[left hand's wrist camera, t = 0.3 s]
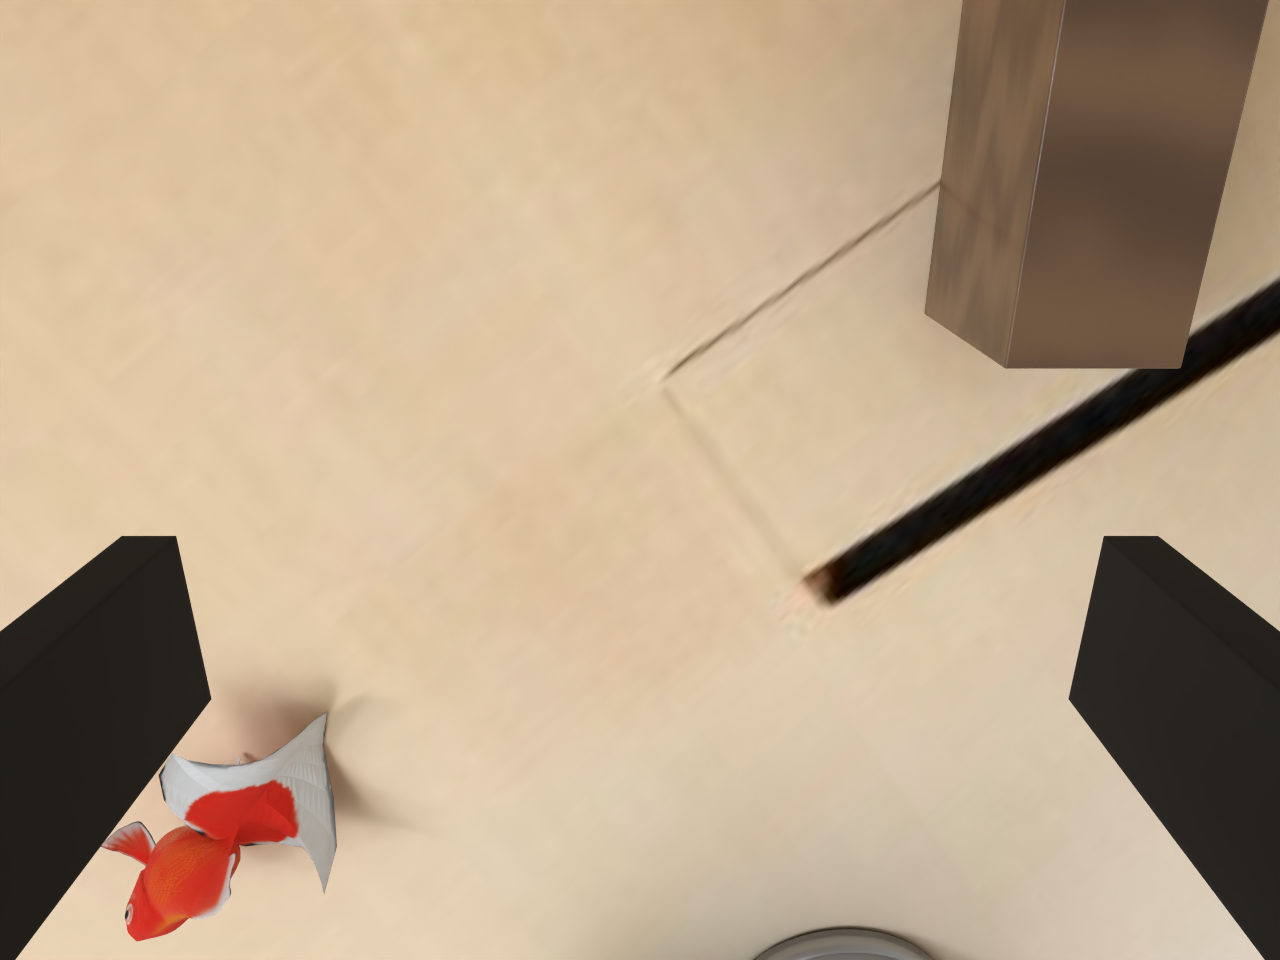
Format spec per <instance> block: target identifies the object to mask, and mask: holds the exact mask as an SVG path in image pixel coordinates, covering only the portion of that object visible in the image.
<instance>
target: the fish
mask: <svg viewBox="0 0 1280 960" xmlns="http://www.w3.org/2000/svg"><path fill="white" fill-rule="evenodd" d="M326 718H327V712H325V713H324V714H322V715H321V716H319V717H317V718H316V719H315V720H314V721H312V722H311V723H310V724H309V725H308V726H307V727H306V728H305V729H304V730H303V731H302V732H301V733H299V734H298V735H297V736H296V737H295V738H294V739H292V740H291V741H290V742H288V743H287V744H285V745H284V746H283V747H281V748H280V749H278V750H277V751H275V752H274V753H272V754H271V755H269V756H268V757H266V758H265V759H263V760H261V761H256V762H251V763H246V764H242V765H239V763H240V759H241V756H239V758H238V761H237V763H236V765H213V764H207V763H200V762H194V761H188V760H186V759H184V758H181V757H179V756H177V755H175V754H171V756H170V757H169V759H168V761H167V762H166V764H165V766H164V767H163V769H162V771H161V772H160V774H159V778H160V783H161V788H162V793H163V797H164V801H165V802H166V803H167V805H168V806H169V807H170V809H171V810H172V812H173V813H174V814H176V815H177V816H178V817H179V818H180V819H181V820H182V821H183V822H185V823H186V824H185V826H182V827H179V828H176V829H174V830H172V831H171V832H169V833H167V834H166V835H165V836H163V837H162V838H161V839H160V841H159V842H158V843H157V844H155V842H154V840H153V838H152V836H151V834H150V833H149V831H148V830H147V828H146V827H145V826H144V825H143V824H142V823H141V822H138V821H137V822H134V823H131V824H129V825H127V826H125V827H123V828H121V829H118V830H117V831H116V832H115V833H114V834H113V835H112V836H110V837H109V838H108V839H107V840H106V841H105V842H103V844H102V845H101V846H100V847H103V848H106V849H109V850H111V851H117V852H120V853H122V854H124V855H127V856H130V857H132V858H134V859H136V860H137V861H139V862H141V863H142V864H144V865H145V866H146V867H145V869H144V870H142V871H141V873H140V875H139V877H138V880H137V882H136V885H135V888H134V890H133V893H132V895H131V897H130V900H129V902H128V904H127V908H126V913H125V921H126V924H127V930H128V933H129V934H130V935H131V936H132V937H133V938H134V939H135V940H136V941H141V940H145V939H150V938H154V937H158V936H162V935H165V934H168V933H170V932H172V931H174V930H176V929H177V928H178V927H180V926H181V925H182V924H183V923H184V922H185V921H186V920H187V919H188V918H192V919H201V918H205V917H208V916H212V915H215V914H216V913H217V912H218V911H219V910H220V909H221V908H222V907H223V906H224V904H225V903H226V901H227V900H228V898H229V897H230V895H231V889H230V879H231V877H232V876H233V874H234V872H235V870H236V868H237V866H238V864H239V862H240V847H239V845H242V846H252V845H261V844H270V843H280V844H285V845H290V846H298V847H302V848H303V849H305V850H306V852H307V853H308V854H309V856H310V857H311V859H312V860H313V862H314V864H315V866H316V869H317V871H318V874H319V877H320V880H321V883H322V887H323V892H324V893H325V889H326V885H327V882H328V878H329V874H330V870H331V866H332V863H333V859H334V855H335V851H336V847H337V842H336V827H335V812H334V798H333V793H332V788H331V783H330V778H329V773H328V768H327V763H326V757H325V751H324V746H323V741H324V735H325V728H326Z"/></svg>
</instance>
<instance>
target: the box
mask: <svg viewBox="0 0 1280 960" xmlns="http://www.w3.org/2000/svg"><path fill="white" fill-rule="evenodd" d="M1268 2H1269V0H963V6H962V14H961V23H960V31H959V39H958V47H957V55H956V63H955V71H954V79H953V87H952V96H951V104H950V112H949V120H948V128H947V136H946V144H945V152H944V160H943V169H942V177H941V185H940V193H939V201H938V209H937V217H936V225H935V233H934V242H933V250H932V258H931V266H930V274H929V282H928V290H927V298H926V306H925V314H926V315H927V316H929V317H930V318H932V319H933V320H935V321H936V322H938V323H939V324H941V325H942V326H944V327H945V328H946V329H948V330H949V331H951V332H952V333H954V334H955V335H957V336H958V337H960V338H961V339H963V340H964V341H966V342H967V343H969V344H970V345H972V346H973V347H975V348H976V349H977V350H979V351H980V352H982V353H983V354H985V355H986V356H988V357H989V358H991V359H992V360H994V361H995V362H997V363H998V364H1000V365H1001V366H1003V367H1004V368H1180V367H1181V365H1182V360H1183V356H1184V352H1185V348H1186V344H1187V339H1188V335H1189V331H1190V327H1191V323H1192V319H1193V314H1194V310H1195V306H1196V302H1197V298H1198V294H1199V289H1200V285H1201V281H1202V277H1203V273H1204V269H1205V264H1206V260H1207V256H1208V252H1209V248H1210V244H1211V239H1212V235H1213V231H1214V227H1215V223H1216V219H1217V214H1218V210H1219V206H1220V202H1221V198H1222V194H1223V189H1224V185H1225V181H1226V177H1227V173H1228V169H1229V164H1230V160H1231V156H1232V152H1233V148H1234V144H1235V139H1236V135H1237V131H1238V127H1239V123H1240V118H1241V114H1242V110H1243V106H1244V102H1245V98H1246V93H1247V89H1248V85H1249V81H1250V77H1251V73H1252V68H1253V64H1254V60H1255V56H1256V52H1257V48H1258V43H1259V39H1260V35H1261V31H1262V27H1263V23H1264V18H1265V14H1266V10H1267V6H1268Z"/></svg>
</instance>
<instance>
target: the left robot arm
mask: <svg viewBox="0 0 1280 960" xmlns="http://www.w3.org/2000/svg"><path fill="white" fill-rule="evenodd" d="M210 700H211V695H210V690H209V686H208V681H207V677H206V672H205V667H204V663H203V658H202V654H201V649H200V644H199V640H198V635H197V631H196V626H195V621H194V617H193V612H192V607H191V603H190V598H189V594H188V589H187V584H186V580H185V575H184V571H183V566H182V561H181V557H180V552H179V547H178V543H177V538H176V536H121V537H120V538H119V539H118V540H116V541H115V542H114V543H112V544H111V545H110V546H109V547H107V548H106V549H105V550H104V551H102V552H101V553H100V554H98V555H97V556H96V557H95V558H93V559H92V560H91V561H90V562H88V563H87V564H86V565H84V566H83V567H82V568H81V569H79V570H78V571H77V572H75V573H74V574H73V575H72V576H70V577H69V578H68V579H67V580H65V581H64V582H63V583H61V584H60V585H59V586H58V587H56V588H55V589H54V590H53V591H51V592H50V593H49V594H47V595H46V596H45V597H44V598H42V599H41V600H40V601H39V602H37V603H36V604H35V605H33V606H32V607H31V608H30V609H28V610H27V611H26V612H25V613H23V614H22V615H21V616H19V617H18V618H17V619H16V620H14V621H13V622H12V623H11V624H9V625H8V626H7V627H5V628H4V629H3V630H2V631H0V960H15V959H16V958H17V957H18V955H19V954H20V953H21V951H22V950H23V949H24V947H25V946H26V945H27V943H28V942H29V941H30V939H31V938H32V937H33V935H34V934H35V933H36V931H37V930H38V929H39V927H40V926H41V925H42V923H43V922H44V921H45V919H46V918H47V917H48V915H49V914H50V913H51V911H52V910H53V909H54V907H55V906H56V905H57V904H58V902H59V901H60V900H61V898H62V897H63V896H64V894H65V893H66V892H67V890H68V889H69V888H70V886H71V885H72V884H73V882H74V881H75V880H76V878H77V877H78V876H79V874H80V873H81V872H82V870H83V869H84V868H85V866H86V865H87V864H88V862H89V861H90V860H91V858H92V857H93V856H94V854H95V853H96V852H97V850H98V849H99V848H100V846H101V845H102V844H103V842H104V841H105V840H106V838H107V837H108V836H109V834H110V833H111V832H112V830H113V829H114V828H115V826H116V825H117V824H118V822H119V821H120V820H121V818H122V817H123V816H124V814H125V813H126V812H127V810H128V809H129V808H130V807H131V805H132V804H133V803H134V801H135V800H136V799H137V797H138V796H139V795H140V793H141V792H142V791H143V789H144V788H145V787H146V785H147V784H148V783H149V781H150V780H151V779H152V777H153V776H154V775H155V773H156V772H157V771H158V769H159V768H160V767H161V765H162V764H163V763H164V761H165V760H166V759H167V757H168V756H169V755H170V753H171V752H172V751H173V749H174V748H175V747H176V745H177V744H178V743H179V741H180V740H181V739H182V737H183V736H184V735H185V733H186V732H187V731H188V729H189V728H190V727H191V725H192V724H193V723H194V721H195V720H196V719H197V717H198V716H199V715H200V713H201V712H202V711H203V710H204V708H205V707H206V706H207V704H208V703H209V702H210ZM1069 700H1070V702H1071V703H1072V704H1073V706H1074V707H1075V708H1076V710H1077V711H1078V712H1079V713H1080V715H1081V716H1082V717H1083V719H1084V720H1085V721H1086V723H1087V724H1088V725H1089V727H1090V728H1091V729H1092V731H1093V732H1094V733H1095V735H1096V736H1097V737H1098V739H1099V740H1100V741H1101V743H1102V744H1103V745H1104V747H1105V748H1106V749H1107V751H1108V752H1109V753H1110V755H1111V756H1112V757H1113V759H1114V760H1115V761H1116V763H1117V764H1118V765H1119V767H1120V768H1121V769H1122V771H1123V772H1124V773H1125V775H1126V776H1127V777H1128V779H1129V780H1130V781H1131V783H1132V784H1133V785H1134V787H1135V788H1136V789H1137V791H1138V792H1139V793H1140V795H1141V796H1142V797H1143V799H1144V800H1145V801H1146V803H1147V804H1148V805H1149V807H1150V808H1151V809H1152V810H1153V812H1154V813H1155V814H1156V816H1157V817H1158V818H1159V820H1160V821H1161V822H1162V824H1163V825H1164V826H1165V828H1166V829H1167V830H1168V832H1169V833H1170V834H1171V836H1172V837H1173V838H1174V840H1175V841H1176V842H1177V844H1178V845H1179V846H1180V848H1181V849H1182V850H1183V852H1184V853H1185V854H1186V856H1187V857H1188V858H1189V860H1190V861H1191V862H1192V864H1193V865H1194V866H1195V868H1196V869H1197V870H1198V872H1199V873H1200V874H1201V876H1202V877H1203V878H1204V880H1205V881H1206V882H1207V884H1208V885H1209V886H1210V888H1211V889H1212V890H1213V892H1214V893H1215V894H1216V896H1217V897H1218V898H1219V900H1220V901H1221V902H1222V904H1223V905H1224V906H1225V908H1226V909H1227V910H1228V911H1229V913H1230V914H1231V915H1232V917H1233V918H1234V919H1235V921H1236V922H1237V923H1238V925H1239V926H1240V927H1241V929H1242V930H1243V931H1244V933H1245V934H1246V935H1247V937H1248V938H1249V939H1250V941H1251V942H1252V943H1253V945H1254V946H1255V947H1256V949H1257V950H1258V951H1259V953H1260V954H1261V955H1262V957H1263V958H1264V959H1265V960H1280V631H1278V630H1277V629H1276V628H1275V627H1273V626H1272V625H1271V624H1269V623H1268V622H1267V621H1266V620H1264V619H1263V618H1262V617H1261V616H1259V615H1258V614H1257V613H1255V612H1254V611H1253V610H1252V609H1250V608H1249V607H1248V606H1247V605H1245V604H1244V603H1243V602H1241V601H1240V600H1239V599H1238V598H1236V597H1235V596H1234V595H1233V594H1231V593H1230V592H1229V591H1227V590H1226V589H1225V588H1224V587H1222V586H1221V585H1220V584H1219V583H1217V582H1216V581H1215V580H1213V579H1212V578H1211V577H1210V576H1208V575H1207V574H1206V573H1205V572H1203V571H1202V570H1201V569H1199V568H1198V567H1197V566H1196V565H1194V564H1193V563H1192V562H1190V561H1189V560H1188V559H1187V558H1185V557H1184V556H1183V555H1182V554H1180V553H1179V552H1178V551H1176V550H1175V549H1174V548H1173V547H1171V546H1170V545H1169V544H1168V543H1166V542H1165V541H1164V540H1162V539H1161V538H1160V537H1159V536H1104V538H1103V543H1102V547H1101V552H1100V557H1099V561H1098V566H1097V571H1096V575H1095V580H1094V584H1093V589H1092V594H1091V598H1090V603H1089V607H1088V612H1087V617H1086V621H1085V626H1084V631H1083V635H1082V640H1081V644H1080V649H1079V654H1078V658H1077V663H1076V667H1075V672H1074V677H1073V681H1072V686H1071V690H1070V695H1069ZM755 960H933V959H932V958H931V957H930V956H928V955H927V954H926V953H925V952H923V951H922V950H921V949H919V948H917V947H916V946H914V945H912V944H911V943H908V942H906V941H904V940H902V939H899V938H897V937H894V936H891V935H887V934H883V933H879V932H874V931H867V930H855V929H840V930H828V931H821V932H815V933H810V934H807V935H803V936H799V937H796V938H793V939H790V940H788V941H786V942H783V943H781V944H779V945H777V946H775V947H773V948H771V949H769V950H768V951H766V952H765V953H763V954H761V955H760V956H759V957H757V958H756V959H755Z"/></svg>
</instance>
